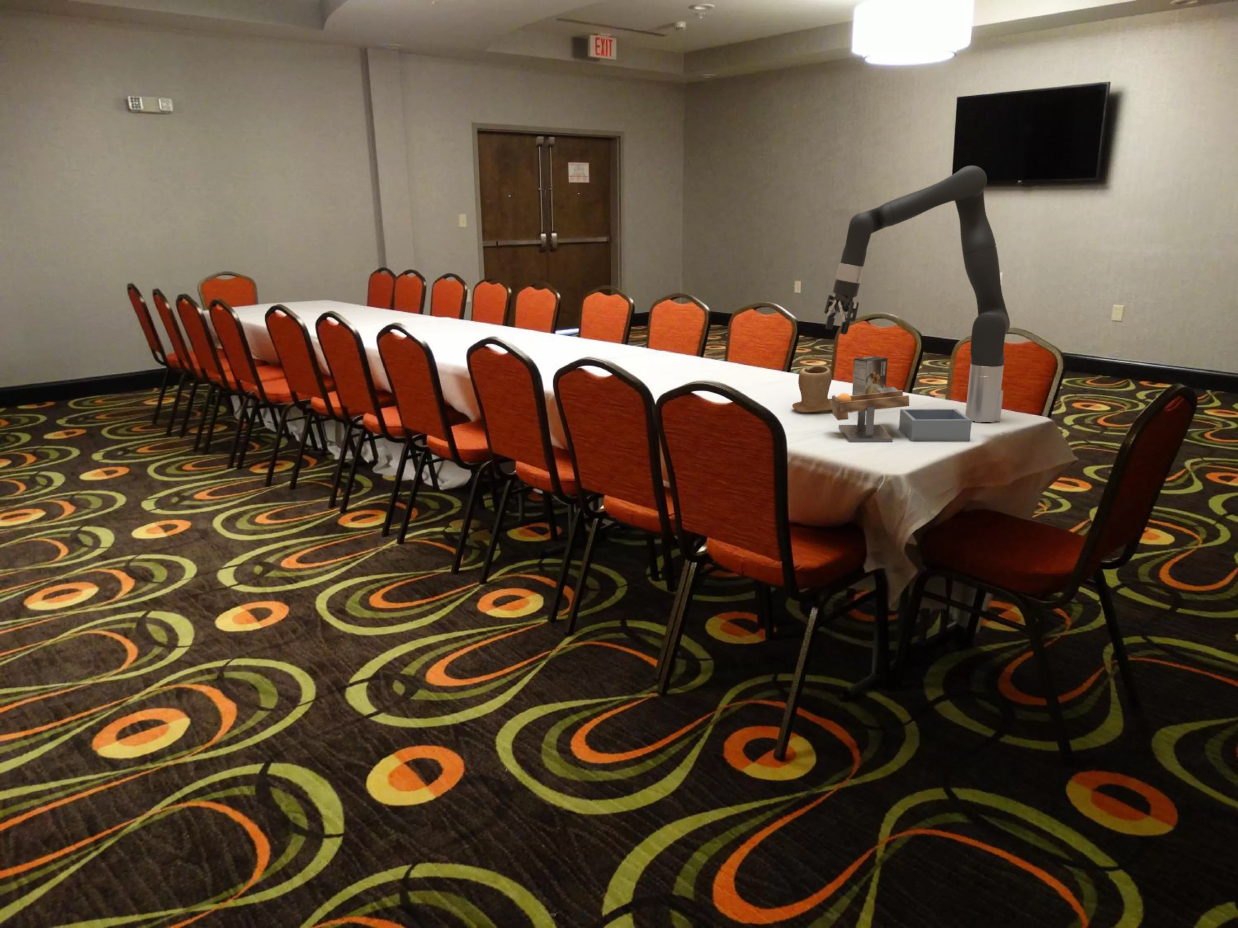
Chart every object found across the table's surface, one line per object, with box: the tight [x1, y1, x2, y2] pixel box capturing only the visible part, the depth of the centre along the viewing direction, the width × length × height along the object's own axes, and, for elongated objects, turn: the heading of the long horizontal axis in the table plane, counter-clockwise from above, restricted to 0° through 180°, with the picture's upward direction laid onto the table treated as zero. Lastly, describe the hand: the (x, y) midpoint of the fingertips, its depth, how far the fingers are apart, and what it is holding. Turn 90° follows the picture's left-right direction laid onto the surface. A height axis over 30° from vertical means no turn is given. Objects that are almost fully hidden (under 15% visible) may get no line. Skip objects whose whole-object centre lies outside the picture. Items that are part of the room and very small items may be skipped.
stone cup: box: [791, 364, 833, 413], centre depth 271 cm, size 15×12×15 cm
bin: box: [898, 408, 973, 442], centre depth 241 cm, size 16×14×6 cm
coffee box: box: [851, 355, 889, 396], centre depth 277 cm, size 9×6×16 cm
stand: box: [838, 406, 893, 443], centre depth 242 cm, size 12×16×10 cm
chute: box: [831, 386, 910, 421], centre depth 245 cm, size 20×18×6 cm
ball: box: [837, 392, 851, 402], centre depth 241 cm, size 4×4×4 cm
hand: (835, 331), depth 264 cm, fingers open, 8 cm apart
